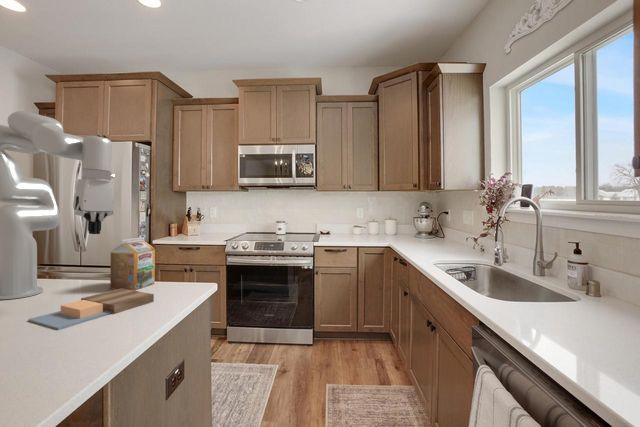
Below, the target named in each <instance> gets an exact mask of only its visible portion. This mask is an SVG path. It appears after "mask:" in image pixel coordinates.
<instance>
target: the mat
mask: <svg viewBox="0 0 640 427" xmlns="http://www.w3.org/2000/svg"><path fill="white" fill-rule="evenodd" d="M112 314H113V313H112V312H110V311H106V310H103V312H100V313H97V314H94V315H90V316H87V317H84V318H76V317H72V316H68V315H64V314H61V310H59V311H56V312H52V313H48V314H43V315H40V316H36V317H32V318H31V317H30V318H29V319H28V320H27V321H28V322H31V323H34V324H37V325H41V326H44V327H47V328H50V329H54V330H57V331H58V330H62V329H65V328H69V327H73V326H75V325H79V324H81V323H85V322H88V321H92V320H96V319H99V318H101V317H105V316H108V315H112Z"/></svg>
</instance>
